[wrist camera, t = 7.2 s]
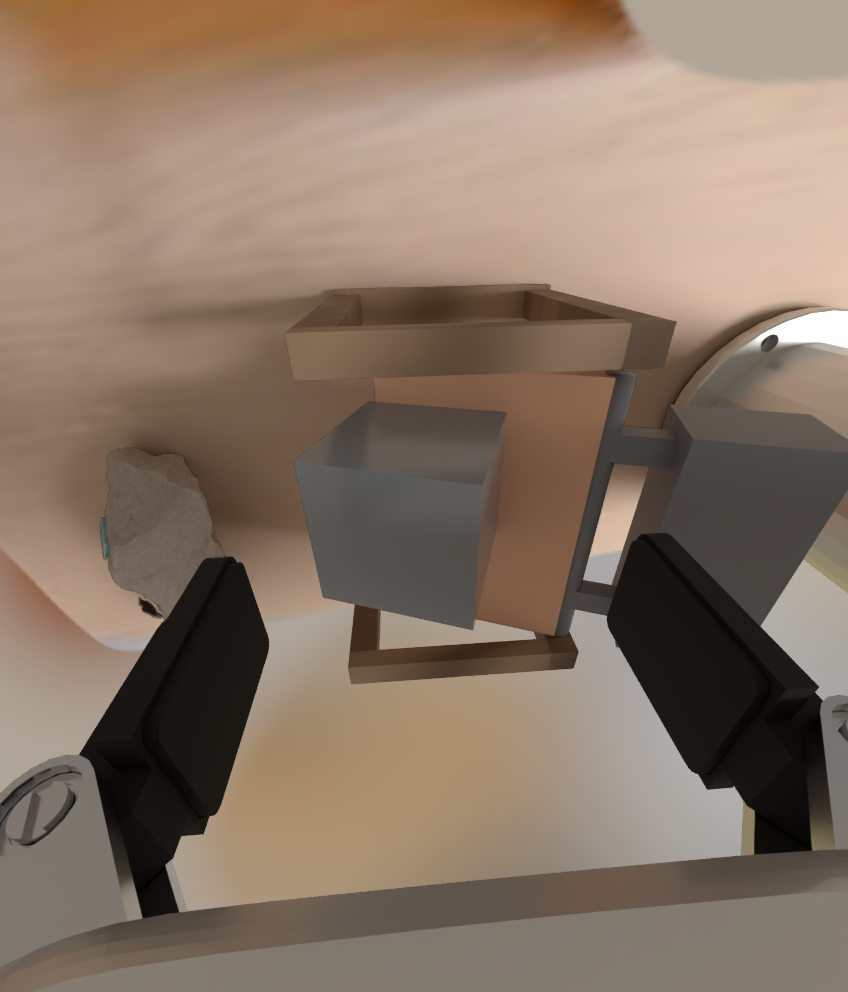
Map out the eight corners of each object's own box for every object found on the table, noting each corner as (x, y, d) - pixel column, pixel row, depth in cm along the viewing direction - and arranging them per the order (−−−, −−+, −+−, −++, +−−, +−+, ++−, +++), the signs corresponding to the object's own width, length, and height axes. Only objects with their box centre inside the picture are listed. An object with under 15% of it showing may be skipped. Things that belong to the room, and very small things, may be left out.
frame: (546, 284, 19) (679, 313, 10) (514, 533, 27) (572, 670, 18) (335, 289, 19) (282, 324, 10) (365, 541, 27) (351, 686, 18)
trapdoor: (832, 372, 12) (902, 405, 9) (697, 631, 18) (718, 691, 16) (392, 351, 15) (360, 371, 13) (405, 574, 21) (384, 616, 19)
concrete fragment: (151, 606, 29) (99, 684, 24) (115, 430, 22) (29, 486, 17) (253, 615, 30) (224, 691, 25) (249, 450, 23) (208, 508, 18)
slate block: (506, 412, 13) (482, 485, 9) (495, 531, 16) (472, 630, 12) (368, 401, 14) (293, 461, 10) (379, 514, 17) (323, 597, 13)
